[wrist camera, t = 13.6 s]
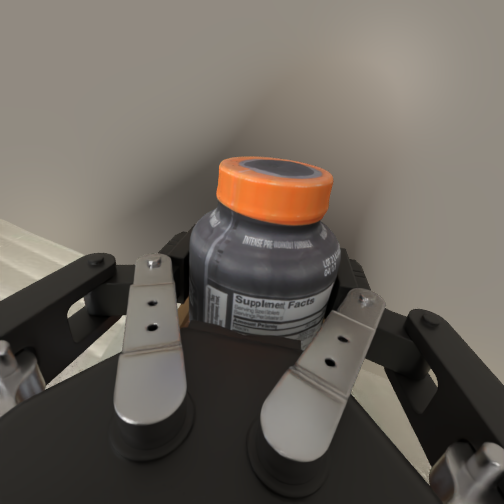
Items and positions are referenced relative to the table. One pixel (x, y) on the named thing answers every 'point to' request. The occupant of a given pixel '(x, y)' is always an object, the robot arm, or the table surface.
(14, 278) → the table surface
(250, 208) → the pill bottle
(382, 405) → the table surface
